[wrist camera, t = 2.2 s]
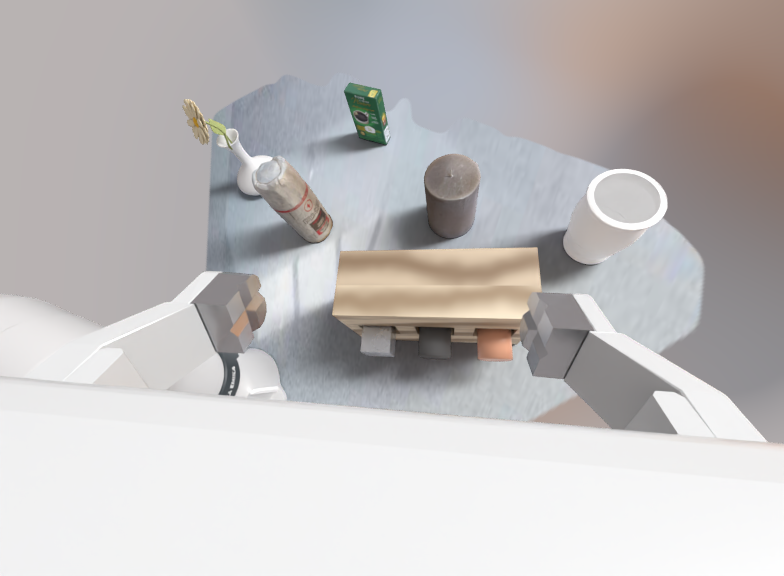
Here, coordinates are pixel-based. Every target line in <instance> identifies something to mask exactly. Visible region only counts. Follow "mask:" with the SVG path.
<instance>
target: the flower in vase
mask: <svg viewBox="0 0 784 576" xmlns="http://www.w3.org/2000/svg"><path fill="white" fill-rule="evenodd" d="M184 103H185V105H186V106H187V107H185V106H184V105H183V109H184V111H185V113H186V115H187V116H188V117H189V120H187V123H188V125H189V126H191V127H192V128H193V129H192V130H193V133H194V136H195V138H196V139H198V137H199V140H200V142H201V143H202V144H205V142H206V144H208V142H209V134H208V128H207V126H206V124H209V125H210V127H211V129H212V131H213V132H214V133H216V134H219V136H218V137H217V145H218V146H219V147H222V148H226V149H228V150H230V151H231V152H232V153H233V154H234V155H236V157H237V158H238V159H239V160H240V161H241V163H242V166H241V167H240V169H239V172H238V176H237V183H238V186H239V188H240V190H241V191H242V192H244V193H245V194H248V195H260V194H259V193H258V192H257V191H256V190H255V188H254V187H253V183H252V173H253V172H254V170H256V169H258V167H259V166H260V165H261V164H262V163H264V162H268V161H271V160H272V159H273V158H272V157H269V156H255V157H250V156H249V155H248V154H247V153H246V152H245V150H244V149H243V148H242V146H241V144H240V142H239V139H238V132H237V130H235V129H227V130H226V129H225V126H224V125H222V124H220V123H218V122H216V121H213V120H211V119H209V123H208V122H206V121H205V120H204V117H203V115H202V113H200V111H199V109H198V107H197V106H196V105H195V103H194V102H193V101H191V100H190V99H189V100H188V99H187V100H186V99H184Z"/></svg>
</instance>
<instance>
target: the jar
mask: <svg viewBox="0 0 784 576" xmlns="http://www.w3.org/2000/svg"><path fill="white" fill-rule="evenodd" d="M666 210H667V197H666V194H665V192H664V190H663V188H662V187H661V186H660V184H659V183H658V182H657V181H655V180H654V179H653V178H651V177H650V176H648V175H646V174H644V173H641V172H639V171H635V170H630V169H615V170H610V171H607V172H604V173H602V174H601V175H599V176H597V177H596V178H595V179H594V180H593V181H592V182H591V184H590V185H589V187H588V189H587V191H586V194H585V195H584V196H583V197H582V198H581V199H580V201H579V202H578V204H577V205H576V207H575V209H574V211H573V213H572V216H571V219H570V222H569V225H568V229H567V232H566V233H565V235H564V238H563V245H564V249H565V251H566V252H567V254H568V255H569V256H570V257H571V258H572V259H574V260H576V261H578V262H580V263H583V264H598V263H601V262H603V261H604V260H606V259H607V258H608V257H609V256H612V255H614V254H616V253H618V252H619V251H621V250H623V249H625V248H627V247H629V246H630V245H632V244H633V243H634V242H636V241H637V240H638V239H639V238H640V237H641V236H642V235H643V234H644V233H645V231H646V230H647V229H648V228H649V227H651V226H653V225H654V224H656V223H657V222H658V221H659V220H660V219H661V218H662V217H663V216H664V214H665V212H666Z"/></svg>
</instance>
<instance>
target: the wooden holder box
mask: <svg viewBox="0 0 784 576" xmlns="http://www.w3.org/2000/svg"><path fill="white" fill-rule="evenodd" d="M532 292H541V293H542V290H541V280H540V269H539V258H538V248H537V247H535V248H483V249H431V250H379V251H340V259H339V266H338V274H337V282H336V289H335V297H334V305H333V312H332V315H333V316H334V317H335V318H337V319H338V320H339V321H341V322H342V323H343V324H345V325H346V326H347V327H349V328H350V329H352V330H353V331H354V332H356V333H357V334H358V335H360V336H361V337H362V330H363V325H370V326H395V327H396V340H409V341H419V327H448V328H451V342H468V343H477V328H487V329H511V339H512V344H518V343H519V342H520V341H521V339H520V323H521V320H522V316H523V315H524V314H525V313H526V312H528V311H529V308H528V305H527V301H528V298H529V296H530V295H531V293H532Z"/></svg>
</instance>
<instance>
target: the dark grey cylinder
mask: <svg viewBox="0 0 784 576" xmlns="http://www.w3.org/2000/svg"><path fill="white" fill-rule="evenodd" d="M418 356H419V357H423V358H431V359H448V358H451V328H448V327H419V353H418Z"/></svg>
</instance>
